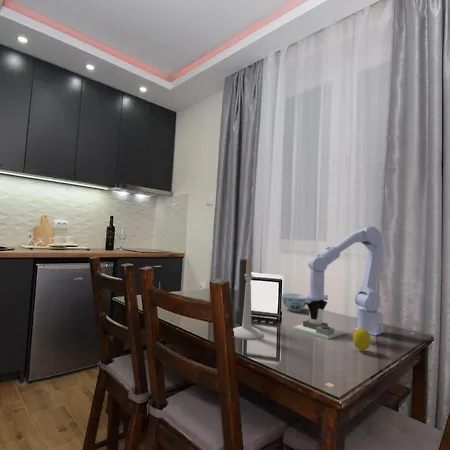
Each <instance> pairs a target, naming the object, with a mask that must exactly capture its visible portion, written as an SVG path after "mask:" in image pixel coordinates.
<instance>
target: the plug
mask: <svg viewBox="0 0 450 450" xmlns="http://www.w3.org/2000/svg"><path fill="white" fill-rule="evenodd" d="M323 313H324V310H323V309H318V313H317V319H316V320H314V319H311V315H310V311H309V310H308V320H309V323H313V324H317V325H321V324H323V323H324V321H323V319H324V314H323Z"/></svg>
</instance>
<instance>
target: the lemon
mask: <svg viewBox="0 0 450 450" xmlns="http://www.w3.org/2000/svg"><path fill="white" fill-rule="evenodd" d="M371 341H372V339H371V334H369V333H368V331H367V330H365V329H364V328H362V327H361V328H359V329H357V330H354V332H353V335H352V342H353V344H354V346H355V348H357V349H358V350H359V351H360V352H364V351H365V350H368V349H369V348H370V346H371Z"/></svg>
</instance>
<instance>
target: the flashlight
mask: <svg viewBox="0 0 450 450" xmlns="http://www.w3.org/2000/svg"><path fill="white" fill-rule="evenodd" d="M246 265H247V258H240V259H239V274H238V275H239V278H238V299H237V307H236V308H235V312H234V324H235V323H236V324H240V325H242V323H243V312H244V300H245V288H246V279H245V275H246ZM236 324H235V325H236ZM240 325H239V326H240Z"/></svg>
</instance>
